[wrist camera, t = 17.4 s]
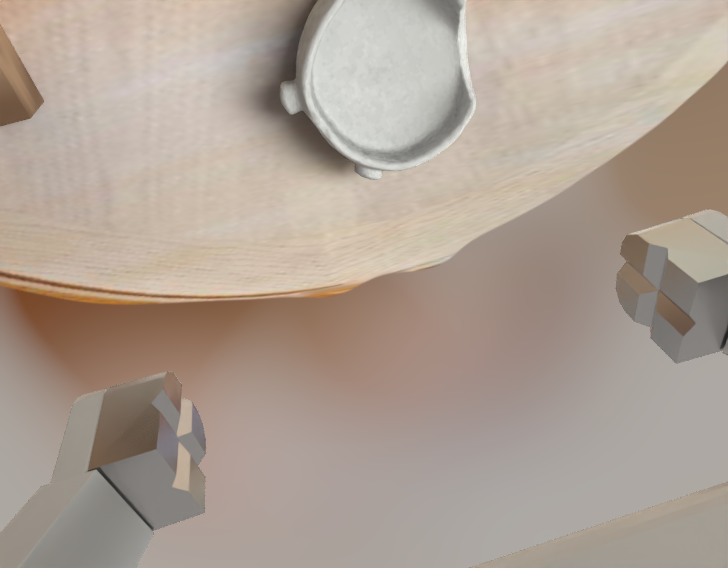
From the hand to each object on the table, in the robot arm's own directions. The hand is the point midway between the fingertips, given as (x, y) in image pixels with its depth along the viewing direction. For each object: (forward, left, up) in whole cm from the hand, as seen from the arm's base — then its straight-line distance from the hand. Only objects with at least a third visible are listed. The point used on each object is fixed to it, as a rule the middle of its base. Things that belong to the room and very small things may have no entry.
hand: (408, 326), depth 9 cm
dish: (+6, +7, -34) cm, 36 cm away
